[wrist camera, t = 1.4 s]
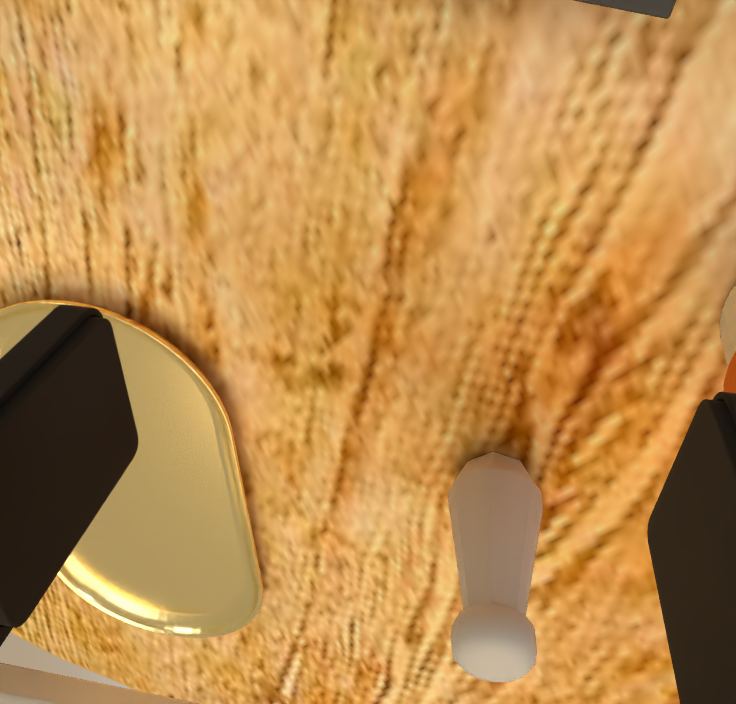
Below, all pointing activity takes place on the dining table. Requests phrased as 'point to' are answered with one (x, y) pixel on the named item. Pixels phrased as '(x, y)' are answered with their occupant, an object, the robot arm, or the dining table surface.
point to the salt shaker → (494, 566)
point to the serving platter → (164, 497)
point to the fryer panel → (639, 6)
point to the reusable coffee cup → (729, 340)
